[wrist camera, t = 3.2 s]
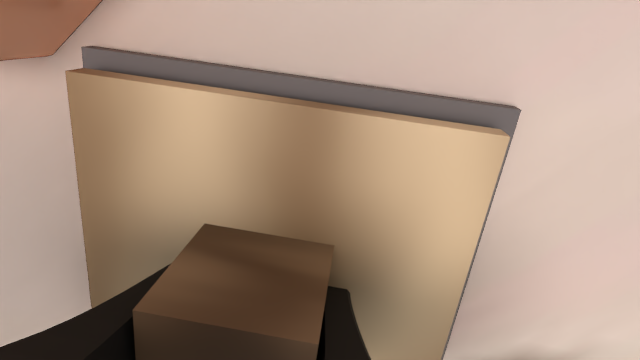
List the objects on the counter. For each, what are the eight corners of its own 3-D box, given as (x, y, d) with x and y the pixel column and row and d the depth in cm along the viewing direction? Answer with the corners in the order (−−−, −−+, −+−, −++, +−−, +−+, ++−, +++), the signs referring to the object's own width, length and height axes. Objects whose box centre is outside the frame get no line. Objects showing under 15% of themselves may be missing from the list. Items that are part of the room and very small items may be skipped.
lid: (112, 372, 16) (15, 504, 12) (84, 68, 12) (-91, 94, 7) (410, 430, 15) (426, 594, 11) (501, 129, 11) (591, 200, 6)
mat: (118, 359, 17) (111, 368, 17) (92, 46, 12) (81, 47, 12) (419, 417, 16) (420, 429, 16) (514, 106, 12) (521, 110, 11)
